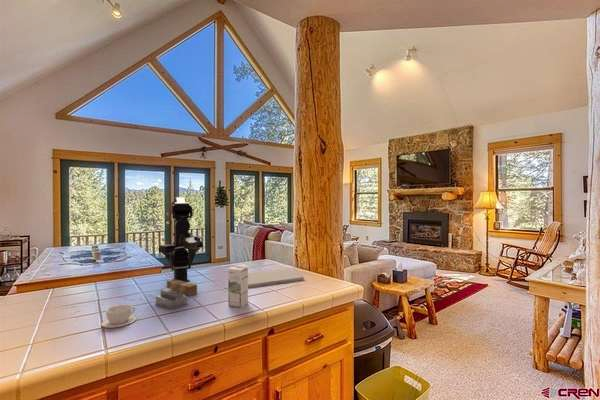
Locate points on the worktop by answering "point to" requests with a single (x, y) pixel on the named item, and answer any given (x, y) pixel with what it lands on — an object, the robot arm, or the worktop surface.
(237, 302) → the syrup box
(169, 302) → the ridge block
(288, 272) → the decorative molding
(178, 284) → the walnut bar
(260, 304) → the worktop surface
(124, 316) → the teacup
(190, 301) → the worktop surface
